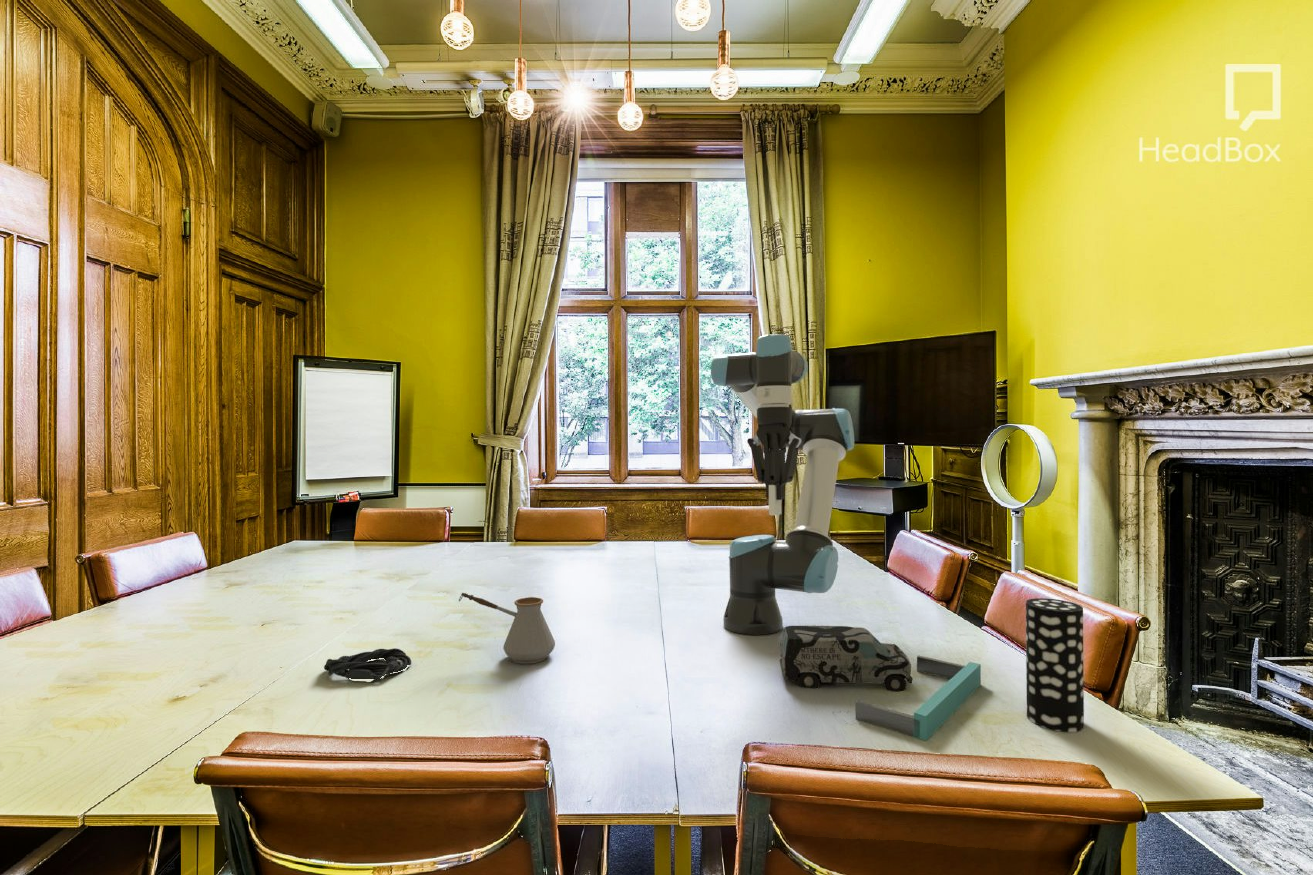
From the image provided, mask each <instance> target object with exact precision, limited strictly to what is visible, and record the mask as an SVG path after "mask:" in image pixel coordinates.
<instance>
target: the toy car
mask: <svg viewBox="0 0 1313 875" xmlns="http://www.w3.org/2000/svg"><path fill="white" fill-rule="evenodd" d="M780 657H781V658H779V664H780V669H781V673H782V674H781V675H782V676H783V680H785V681H797V683H798V686H799V687H800V688H802V689H819V688H820V682H821V683H839V684H840V683H842V684H843V683H844V684H845V683H846V684H847V683H849V684H883V686H884V688H885V690H886V691H888V692H894V693H895V692H897V693H901V692H904V691H905V690H906V687H907V683H908V684H911V685H912V684H913V680H914V678H913V677H912V674H911V673H912V672H911V671H912V663H911V661H910V659H909V658H908V656H907V655H906V653H905V652H904V651H903V650H902V649H901V648H900V647H899V646H898V645H897V644H895V643H883V642H880V640H878V639H877V638H876V637H875V636H874V634H872V632H870V631H869V630H868V629H867V628H864V627H855V626H854V627H853V626H847V625H788V626H786V625H785V627H784V629H783V633H782V637H781V642H780ZM906 681H907V682H906Z"/></svg>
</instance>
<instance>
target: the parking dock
mask: <svg viewBox="0 0 1313 875" xmlns="http://www.w3.org/2000/svg"><path fill="white" fill-rule="evenodd" d="M981 669H982V666H981V663H976V662H972V661H969V662H968V663H967V664H965V665H963V664H958V663H955V662H950V661H945V660H942V659H936V658H931V657H928V656H923V655H920V654H919V655H917V656H916V671H917V672H920V673H923V674H928V675H931V676H936V677H939V678H945V679H949V680H947V682H946V683H944V684H943V685H942V686H941V687H939V689H938V690H937V691H936V692H935V693H933V694H932V695H931V696H930V697H928V699H927V700H926V701H924V703H922V704H921V705H920V706H918V708H917V709H915V711H914V712H913V715H912V714H908V713H905V712H902V711H897V710H894V709H891V708H888V707H885V706H881V705H878V704H873V703H871V702H867V701H863V700H861V699H857V700H855V702H854V703H855V719H856V720H858V721H862V722H865V723H868V724H872V725H874V726H878V727H881V728H884V729H887V730H891V731H893V732H897V733H900V734H903V735H907V736H910V737H913V738H915V739H919V740H922V741H927V740H929V738H930V737H931V736H932V735H933V734H935V732H937V731H938V730H939V728H941V726H943V724H944V723H945V722H946V721H948V719H949V718H950V717H951V716H952V715H953V714H954V713H955V712H956V711H957V710H958V709H959V708H960V707H961V706H962V705H963V704H964V703H965V701H967V700H968V698H970V697H971V696H972V694H974V692H975V691H977V689H978V688H979V687H980V686H981V685H982V680H981V679H982V676H981V675H982V672H981V671H982V670H981Z"/></svg>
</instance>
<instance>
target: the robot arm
mask: <svg viewBox="0 0 1313 875" xmlns="http://www.w3.org/2000/svg"><path fill="white" fill-rule="evenodd" d="M791 340H792V339H791V337H790V336H789V335H786V334H781V333H779V334H765V335H760V336H759V337H758V338H757V339H756V342H755V343H756V346H755V352H745V353H744V352H743V353H731V354H730V353H727V354H721V355H716V356H715V357H714V358H713V359H712V361H711V364H710V377H711V381H712V382H713V383H714V385H715V386H719V387H721V386H722V387H730V388H731V390H733V393H735V395H736V396H737V397H738V398H739V399H740V400H741V402H742V403H743V404H744V405H745V406H746V408H747V409H748V410H749V411H750V413H751V414H752V415H753V416H754V417H755V418H756V423H757V429H756V432H755V435H753V437H751V438H748V439H747V441H746V442H747V444H748V446H749V447H750V449H751V450H750V451H751V453H752V454H751V455H752V459H753V463H754V470H755V474H756V479H757V481H759V482H762V483H764V484H765V499H766V500H768V515H769V516H780V515H782V500H784V499H785V485H786V484H787V483H790V482H793V479H794V474H795V470H796V466H797V460H798V457H799V456H798V455H799V450H800V451H802V452H803V453H804V455H805V456H806V460H805V466H804V471H803V476H802V477H803V478H802V483H801V489H800V494H799V498H798V499H799V500H798V504H797V505H798V506H797V510H796V517H795V521H794V528H793V529H791V530H790V531H788V532H787V534H786V537H785V542H778V541H776V538H775V536H774V535H772V534H756V535H750V536H749V535H748V536H742V537H738V538H735V539H734V540H732V541H731V542H730V544H729V556H728V559H729V562H728V564H729V566H728V567H729V598H728V601H727V603H726V604H727V605H726V608H725V611H724V614H723V627H724V629H726V630H728V631H730V632H733V633H736V634H740V635H742V634H743V635H750V636H752V635H753V636H754V635H755V636H759V635H761V636H762V635H770V634H775V633H777V632H780V631H782V629H783V627H784V626H783V624H784V623H783V616H782V613H781V610H780V607H779V603H778V601H777V600H778V599H777V598H776V590H784V591H794V592H802V593H806V594H825V593H827V592H828V591H830V589H831V588H832V587H833V585H834V582H835V580H836V576H837V572H838V568H839V565H838V563H839V552H838V550H837V547H835V546H833V545H834V542H833V540H832V539H831V538H830V537H829V530H830V523H831V522H830V521H831V519H832V518H831V516H832V509H833V503H834V497H835V496H834V495H835V490H836V484H837V477H838V471H839V463H840V462H841V461H843V460H844V459H845V457H846V456H847V451H851V450H854V448H855V432H854V424H853V420H852V416H851V413H850V411H849V410H847V409H846V408H835V407H832V408H815V409H814V408H811V409H810V408H808V409H804V408H803V409H793V408H792V407H791V405H792V402H793V397H792V396H793V394H792V393H793V392H792V384H797V383H799V382H801V381H802V380H804V378H805V376H806V375H807V373H808V368H809V366H808V362H807V360H806V358H805V357H804V356H803V354H801V353H800V352H798V351H796V350H793V347H792V341H791ZM761 445H762V446H761Z"/></svg>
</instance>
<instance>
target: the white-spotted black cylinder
mask: <svg viewBox="0 0 1313 875" xmlns="http://www.w3.org/2000/svg"><path fill="white" fill-rule="evenodd" d="M1025 657H1026V658H1025V663H1026V665H1025V667H1026V669H1025V671H1026V673H1025V674H1026V677H1025V679H1026V681H1025V684H1026V685H1025V686H1026V717H1027V719H1028V720H1029V721H1030V722H1031V723H1032V724H1035V725H1037V726H1039V727H1042V728H1044V729H1048V730H1052V731H1056V732H1063V733H1077V732H1081V731H1082V730H1084V728H1085V717H1084V716H1085V702H1084V700H1085V699H1084V698H1085V691H1084V688H1085V687H1084V684H1085V683H1084V680H1085V679H1084V678H1085V677H1084V675H1085V674H1084V670H1085V669H1084V607H1083V606H1082V605H1080V604H1078V603H1075V602H1071V601H1067V600H1061V599H1056V598H1041V597H1039V598H1029V599H1027V600H1026V601H1025Z"/></svg>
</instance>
